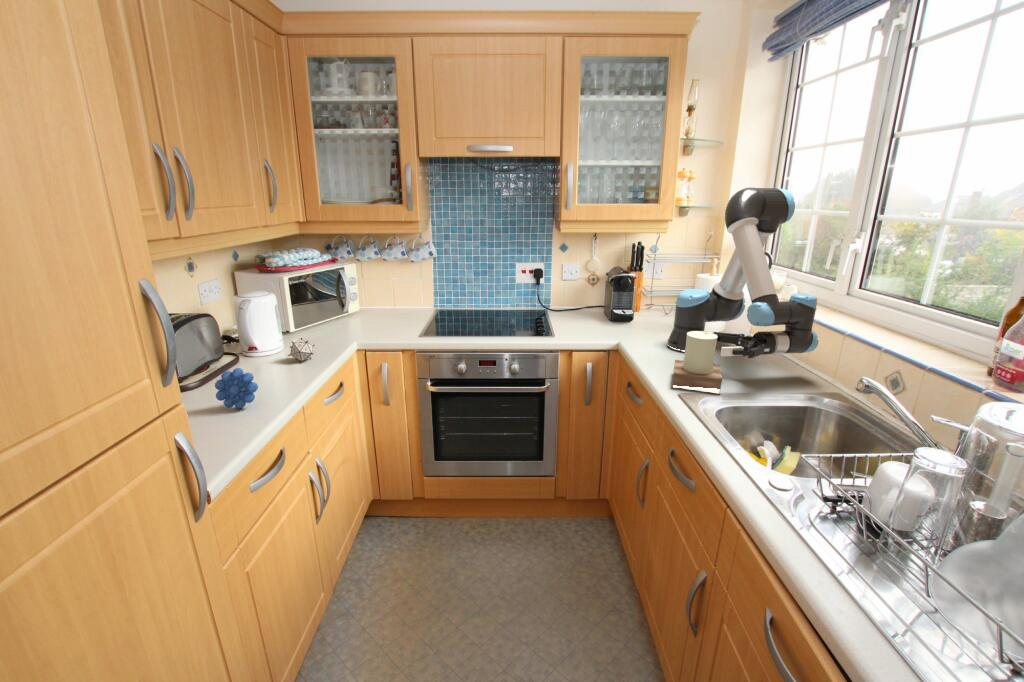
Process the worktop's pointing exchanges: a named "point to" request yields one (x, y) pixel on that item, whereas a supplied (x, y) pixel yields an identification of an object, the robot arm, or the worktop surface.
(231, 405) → the blue knobbed ball
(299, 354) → the grey spiked polyhedron
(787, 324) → the robot arm
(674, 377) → the walnut block
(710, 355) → the can
